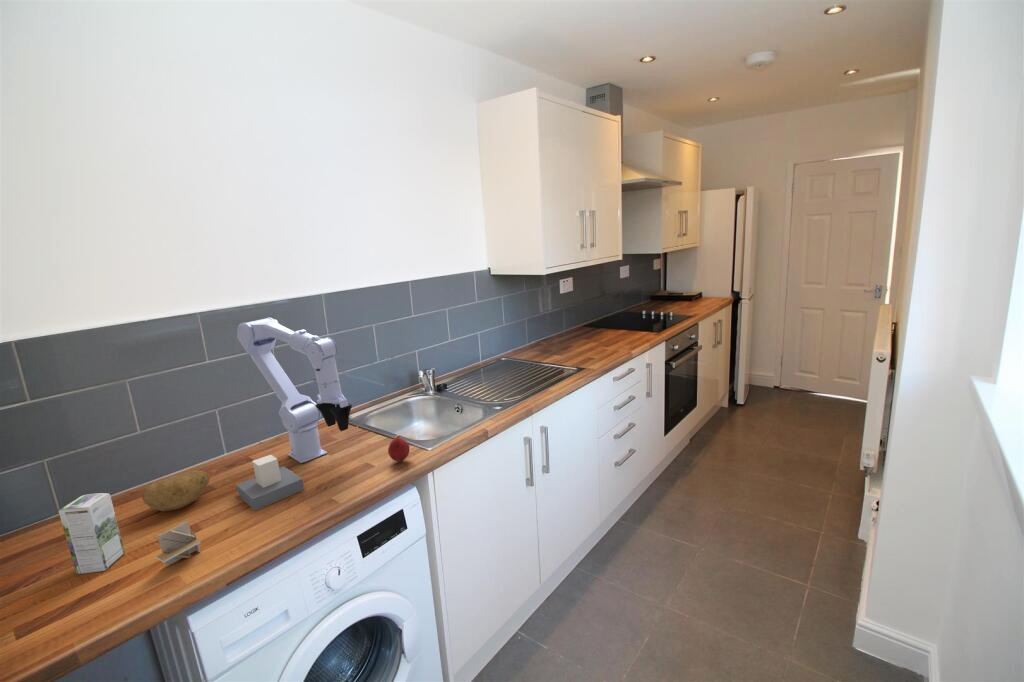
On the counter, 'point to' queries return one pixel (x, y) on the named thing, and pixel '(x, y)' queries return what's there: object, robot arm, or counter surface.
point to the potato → (176, 491)
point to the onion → (398, 449)
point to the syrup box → (92, 533)
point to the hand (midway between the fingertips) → (337, 427)
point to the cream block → (267, 470)
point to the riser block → (269, 489)
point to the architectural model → (177, 544)
